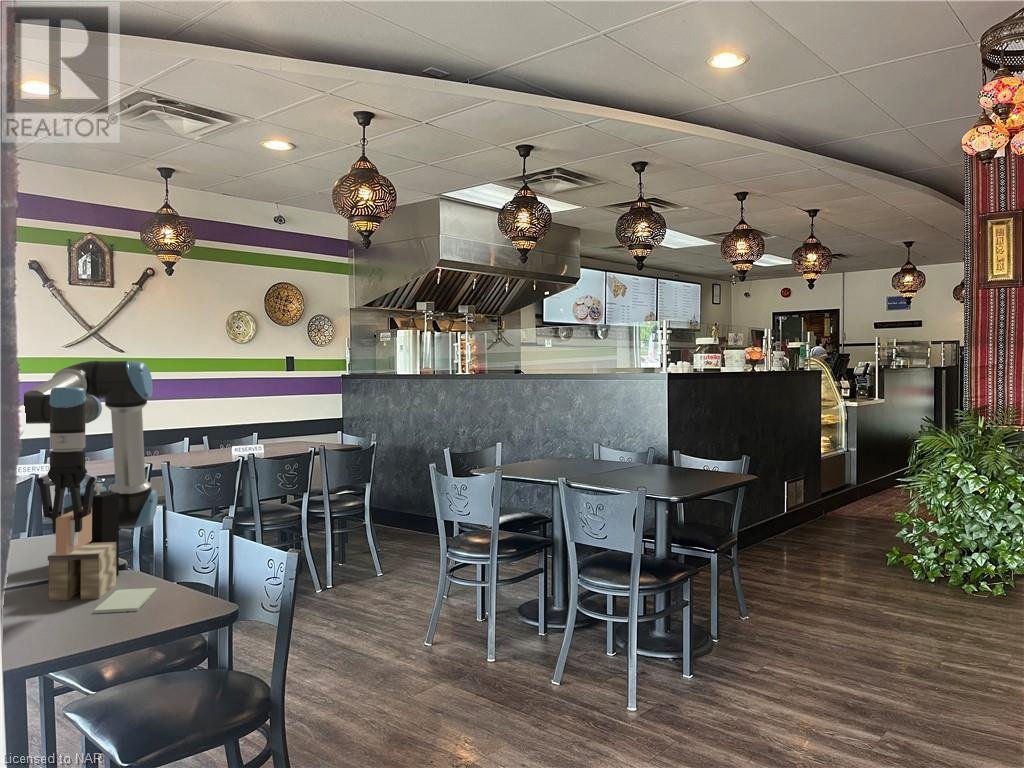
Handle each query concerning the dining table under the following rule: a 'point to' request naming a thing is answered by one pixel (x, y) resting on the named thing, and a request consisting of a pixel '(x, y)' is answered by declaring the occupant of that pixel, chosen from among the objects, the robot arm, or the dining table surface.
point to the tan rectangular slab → (64, 533)
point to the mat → (125, 600)
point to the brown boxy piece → (83, 572)
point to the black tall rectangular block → (105, 518)
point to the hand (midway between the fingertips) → (67, 545)
